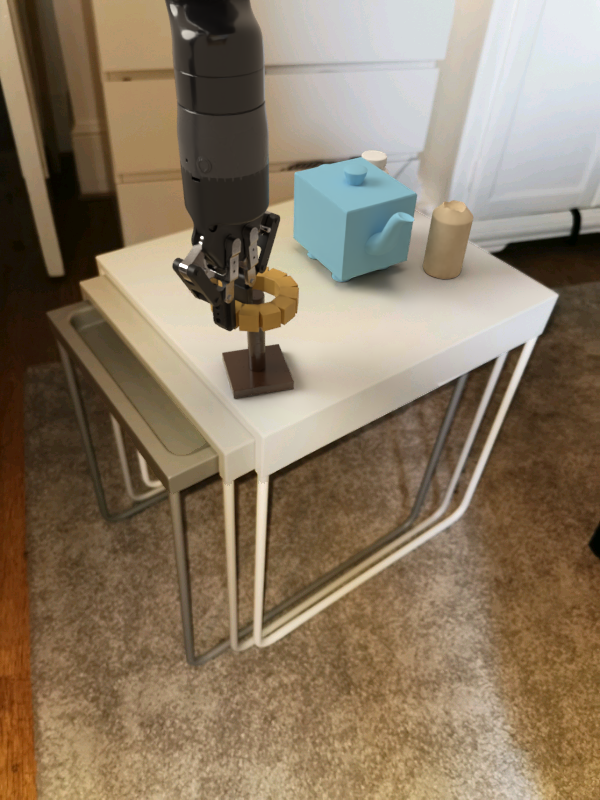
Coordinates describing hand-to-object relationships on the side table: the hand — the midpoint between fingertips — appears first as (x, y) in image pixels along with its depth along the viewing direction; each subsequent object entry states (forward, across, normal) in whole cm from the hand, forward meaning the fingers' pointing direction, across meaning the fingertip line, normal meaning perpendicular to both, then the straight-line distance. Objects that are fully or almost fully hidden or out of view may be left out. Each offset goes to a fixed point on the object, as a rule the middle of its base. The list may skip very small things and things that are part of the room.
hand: (233, 320), depth 66 cm
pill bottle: (+10, -47, -10) cm, 50 cm away
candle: (+10, -38, +8) cm, 40 cm away
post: (+10, -4, 0) cm, 11 cm away
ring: (0, -4, 0) cm, 4 cm away
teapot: (+10, -31, -3) cm, 33 cm away
